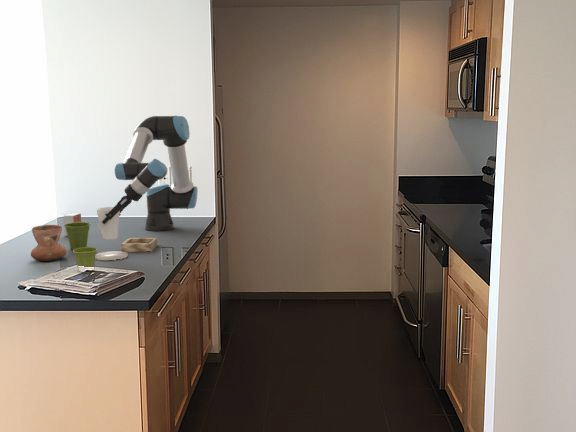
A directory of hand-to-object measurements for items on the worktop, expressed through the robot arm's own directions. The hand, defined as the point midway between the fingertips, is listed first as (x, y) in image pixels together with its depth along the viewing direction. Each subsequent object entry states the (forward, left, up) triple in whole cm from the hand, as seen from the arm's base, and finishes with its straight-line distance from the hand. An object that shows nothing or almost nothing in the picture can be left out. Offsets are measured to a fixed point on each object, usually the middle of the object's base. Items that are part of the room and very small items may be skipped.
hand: (102, 226), depth 290 cm
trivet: (-3, +1, -14) cm, 14 cm away
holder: (-19, -9, -14) cm, 25 cm away
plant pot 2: (+12, +19, -14) cm, 27 cm away
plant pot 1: (+5, -25, -14) cm, 29 cm away
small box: (0, -59, -14) cm, 60 cm away
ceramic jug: (+21, -10, -14) cm, 27 cm away
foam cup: (-3, +2, -6) cm, 6 cm away
